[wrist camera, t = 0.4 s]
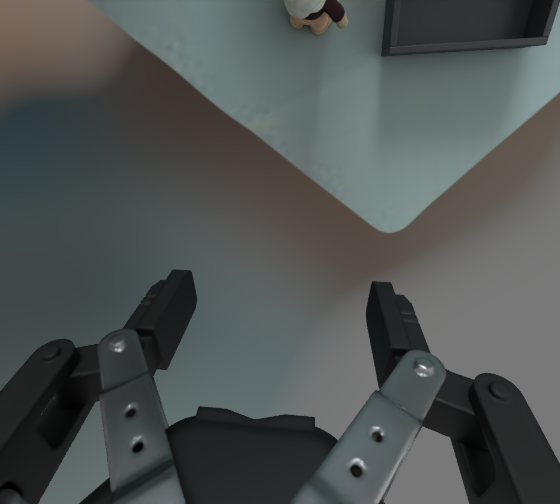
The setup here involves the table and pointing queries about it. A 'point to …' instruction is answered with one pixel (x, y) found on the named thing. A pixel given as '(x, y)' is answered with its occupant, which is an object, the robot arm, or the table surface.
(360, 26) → the table surface
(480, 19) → the pan
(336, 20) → the grandmother figurine
